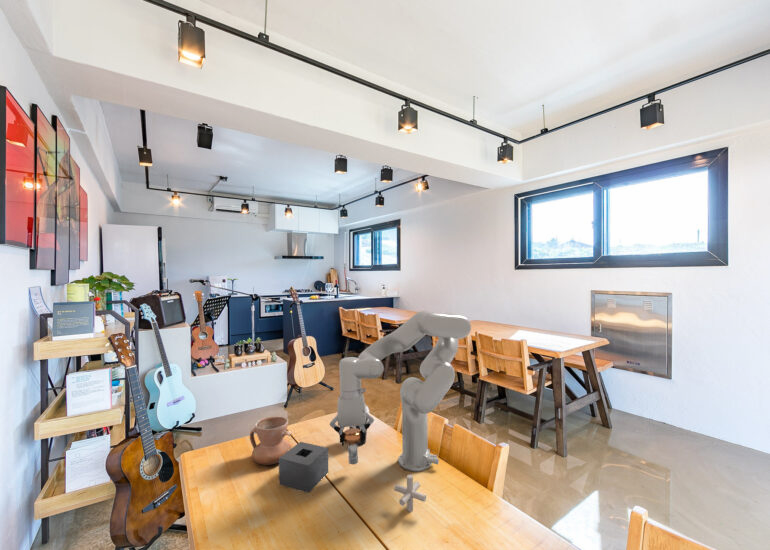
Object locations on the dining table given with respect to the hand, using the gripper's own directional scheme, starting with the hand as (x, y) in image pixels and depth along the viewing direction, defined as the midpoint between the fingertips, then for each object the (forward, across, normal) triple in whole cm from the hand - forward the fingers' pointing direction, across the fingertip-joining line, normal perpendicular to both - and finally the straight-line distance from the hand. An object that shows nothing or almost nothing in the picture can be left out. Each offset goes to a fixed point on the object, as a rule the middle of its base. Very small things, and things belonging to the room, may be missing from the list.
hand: (352, 442), depth 118 cm
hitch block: (+11, +17, 0) cm, 20 cm away
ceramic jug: (+11, +32, -15) cm, 37 cm away
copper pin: (+7, 0, 0) cm, 7 cm away
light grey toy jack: (+12, -16, +20) cm, 29 cm away
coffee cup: (+12, -3, -23) cm, 26 cm away
